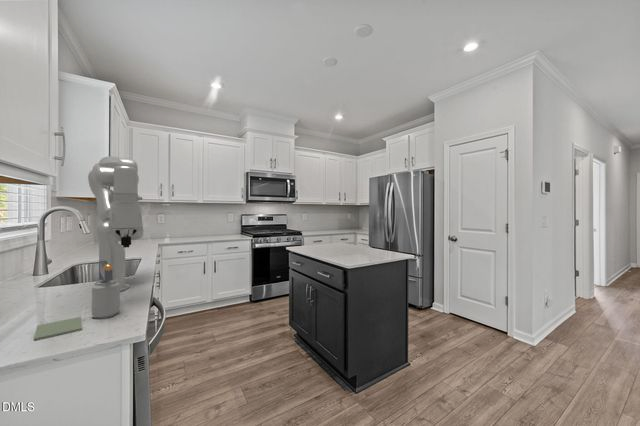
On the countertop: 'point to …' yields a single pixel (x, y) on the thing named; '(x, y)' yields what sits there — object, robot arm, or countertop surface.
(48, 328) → the mat
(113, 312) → the can
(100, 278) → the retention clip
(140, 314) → the countertop surface
